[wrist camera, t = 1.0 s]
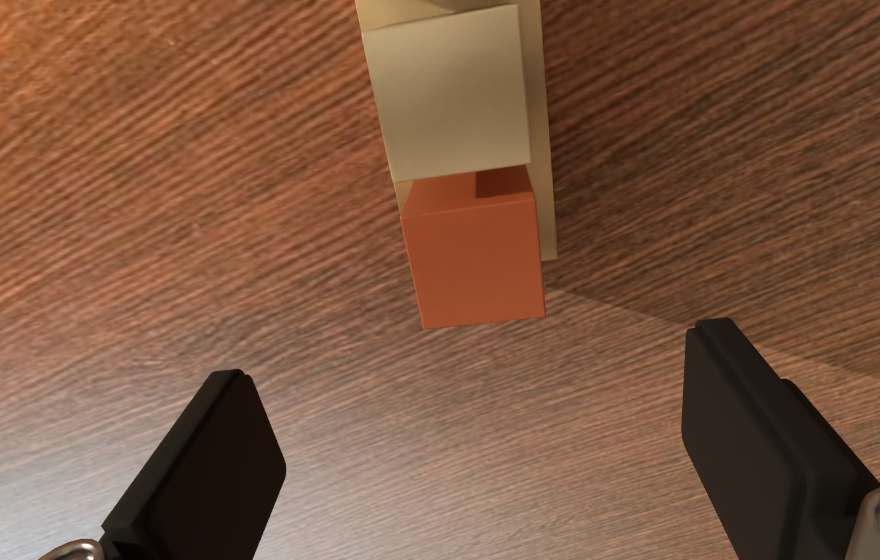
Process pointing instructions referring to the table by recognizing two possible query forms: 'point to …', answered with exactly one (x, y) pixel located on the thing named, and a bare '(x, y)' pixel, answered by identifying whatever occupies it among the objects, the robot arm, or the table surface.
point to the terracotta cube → (474, 248)
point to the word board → (461, 92)
